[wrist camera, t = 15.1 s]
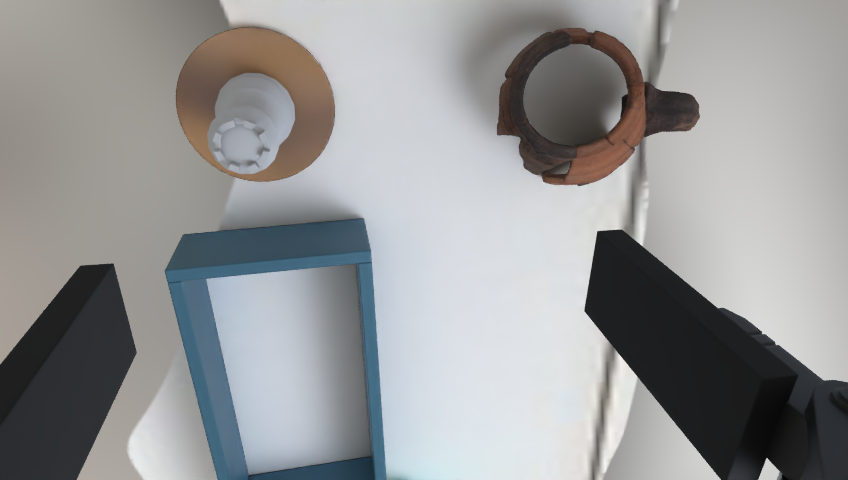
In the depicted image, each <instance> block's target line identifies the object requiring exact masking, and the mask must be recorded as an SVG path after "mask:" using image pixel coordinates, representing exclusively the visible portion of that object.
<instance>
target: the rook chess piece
mask: <svg viewBox="0 0 848 480" xmlns="http://www.w3.org/2000/svg"><path fill="white" fill-rule="evenodd" d="M215 116H216V118H215V119H214V120H213V121H212V122H211V125H210V128H209V131H208V134H207V137H208V146H209V149H210V151H211V153H212V155H213V156H214V158H215V160H216V161H217V162H218V163H220V164H221V165H222V166H223V167H224V168H226V169H227V170H230V171H233V172H236V173H239V174H254V173H257V172H259V171H262V170H264V169H266V168H267V167H268V166H269V165H270V164H271V163H272V162H273V161H274V160H275V157H276V155H277V152H278V149H279V145H280V144H281V143H282V142H283V141H284V140H285V139H286V138H287V137H288V136H289V134H290V132H291V129H292V127H293V124H294V121H295V109H294V103H293V101H292V99H291V97H290V95H289V93H288V91H287V90H286V89H285V88H284V87H283V86H282V85H281V84H280V83H279V82H278V81H277V80H275V79H273V78H271V77H268V76H266V75H264V74H261V73H244V74H241V75H239V76H236V77H234V78H231V79H230V80H229V81H228V82H227V83H226V84H225V85H224V86H223V87H222V88H221V89H220V92H219V95H218V98H217V101H216V104H215Z"/></svg>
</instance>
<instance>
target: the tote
mask: <svg viewBox="0 0 848 480" xmlns="http://www.w3.org/2000/svg"><path fill="white" fill-rule="evenodd" d="M371 261H372V259H371V249H370V244H369V240H368V235H367V231H366V226H365V222H364V219H352V220H341V221H330V222H318V223H307V224H296V225H284V226H273V227H262V228H250V229H239V230H228V231H216V232H205V233H194V234H184V235H183V236H182V238H181V240H180V242H179V244H178V246H177V248H176V250H175V252H174V254H173V256H172V258H171V260H170V262H169V264H168V266H167V268H166V270H165V274H166V278H167V281H168V286H169V290H170V294H171V298H172V301H173V306H174V309H175V313H176V317H177V321H178V325H179V329H180V333H181V337H182V341H183V345H184V349H185V353H186V357H187V361H188V365H189V369H190V373H191V376H192V380H193V384H194V388H195V392H196V396H197V400H198V404H199V408H200V412H201V416H202V420H203V424H204V428H205V432H206V436H207V440H208V443H209V447H210V451H211V455H212V459H213V463H214V467H215V471H216V475H217V479H218V480H386V468H385V453H384V438H383V423H382V408H381V393H380V378H379V363H378V348H377V334H376V319H375V304H374V289H373V274H372V262H371ZM346 264H356V274H357V287H358V299H359V311H360V323H361V336H362V348H363V360H364V373H365V385H366V397H367V409H368V422H369V434H370V446H371V457H366V458H360V459H354V460H347V461H341V462H334V463H328V464H322V465H315V466H309V467H303V468H296V469H290V470H283V471H277V472H271V473H264V474H258V475H252V476H249V475H248V470H247V466H246V461H245V457H244V452H243V448H242V443H241V438H240V434H239V429H238V425H237V420H236V416H235V411H234V406H233V402H232V397H231V393H230V388H229V384H228V379H227V374H226V370H225V365H224V361H223V356H222V352H221V347H220V342H219V338H218V333H217V329H216V324H215V319H214V315H213V310H212V306H211V301H210V297H209V292H208V287H207V283H206V279H207V278H217V277H227V276H237V275H247V274H257V273H267V272H277V271H287V270H296V269H306V268H316V267H326V266H336V265H346Z"/></svg>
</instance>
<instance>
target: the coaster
mask: <svg viewBox="0 0 848 480" xmlns="http://www.w3.org/2000/svg"><path fill="white" fill-rule="evenodd" d="M244 73H261V74H264V75H266V76H268V77H271V78H273V79H275V80H277V81H278V82H279V83H280V84H281V85H282V86H283V87H284V88H285V89H286V90H287V91H288V93H289V95H290V97H291V99H292V101H293V103H294V109H295V121H294V124H293V127H292V129H291V132H290V134H289V136H288V137H287V138H286V139H285V140H284V141H283V142H282V143H281V144H280V145H279V149H278V152H277V155H276V157H275V160H274V161H273V162H272V163H271V164H270V165H269V166H268V167H267V168H266V169H264V170H262V171H259V172H257V173H254V174H239V173H236V172H233V171H230V170H227V169H226V168H224V167H223V166H222V165H221V164H220V163H218V162H217V161H216V160H215V158H214V156H213V155H212V153H211V151H210V149H209V146H208V137H207V134H208V131H209V128H210V125H211V122H212V121H213V120H214V119H215V118H216V116H215V104H216V101H217V98H218V95H219V92H220V89H221V88H222V87H223V86H224V85H225V84H226V83H227V82H228V81H229V80H230V79H231V78H234V77H236V76H239V75H241V74H244ZM176 107H177V114H178V117H179V121H180V124H181V126H182V129H183V131H184V133H185V135H186V137H187V139H188V140H189V142H190V143H191V145H192V146H193V147H194V149H195V150H196V151H197V152H198V153H199V154H200V155H201V156H202V157H203V158H204V159H205V160H206V161H207V162H209V163H210V164H211V165H213V166H214V167H216V168H217V169H219V170H220V171H222V172H224V173H227V174H229V175H231V176H234V177H237V178H240V179H244V180H249V181H275V180H280V179H284V178H287V177H290V176H292V175H295V174H297V173H299V172H300V171H302V170H304V169H305V168H306V167H308V166H309V165H310V164H312V163H313V162H314V161H315V160H316V159H317V158H318V156H319V155H320V154H321V153H322V151H323V150H324V148H325V146H326V145H327V143H328V141H329V138H330V136H331V133H332V129H333V125H334V117H335V105H334V98H333V93H332V90H331V86H330V83H329V81H328V79H327V76H326V74H325V73H324V71H323V69H322V67H321V66H320V65H319V63H318V62H317V61H316V59H315V58H314V57H313V56H312V55H311V54H310V53H309V52H308V51H307V50H306V49H305V48H304V47H302V46H301V45H300V44H299V43H297V42H295V41H294V40H292V39H291V38H289V37H287V36H285V35H282V34H280V33H278V32H274V31H271V30H268V29H262V28H250V27H245V28H235V29H231V30H227V31H224V32H222V33H219V34H217V35H215V36H213V37H211V38H209V39H208V40H206V41H205V42H203V43H202V44H201V45H200V46H198V47H197V48H196V49H195V50H194V52H193V53H192V54H191V55H190V56H189V58H188V59H187V61H186V62H185V64H184V66H183V68H182V70H181V72H180V76H179V79H178V83H177V89H176Z"/></svg>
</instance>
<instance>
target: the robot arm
mask: <svg viewBox="0 0 848 480" xmlns="http://www.w3.org/2000/svg"><path fill="white" fill-rule="evenodd" d="M584 311H585V312H586V314H587V315H588V316H589V317H590V319H591V320H592V321H593V322H594V324H595V325H596V326H597V327H598V328H599V330H600V331H601V332H602V333H603V335H604V336H605V337H606V338H607V340H608V341H609V342H610V343H611V344H612V346H613V347H614V348H615V349H616V351H617V352H618V353H619V354H620V356H621V357H622V358H623V359H624V361H625V362H626V363H627V364H628V365H629V367H630V368H631V369H632V370H633V372H634V373H635V374H636V375H637V377H638V378H639V379H640V380H641V382H642V383H643V384H644V385H645V386H646V388H647V389H648V390H649V391H650V393H652V395H653V396H654V397H655V399H656V400H657V401H658V402H659V404H660V405H661V406H662V407H663V408H664V410H665V411H666V412H667V414H668V415H669V416H670V417H671V418H672V420H673V421H674V422H675V423H676V425H677V426H678V427H679V428H680V430H681V431H682V432H683V433H684V434H685V436H686V437H687V438H688V439H689V441H690V442H691V443H692V444H693V446H694V447H695V448H696V449H697V451H698V452H699V453H700V454H701V456H702V457H703V458H704V459H705V460H706V462H707V463H708V464H709V465H710V466H711V468H712V469H713V470H714V472H715V473H716V474H717V475H718V476H719V477H720V479H721V480H758V479H759V476H760V473H761V471H762V468H763V466H764V463H765V460H766V458H768V459H769V460H770V461H771V463H772V464H773V465H774V466H775V467H776V468H777V469H778V470H779V471H780V473H779V476H778V478H777V480H848V382H842V381H837V380H829V381H828V380H827V381H824V380H822V379H821V378H820V377H818V376H817V375H816V374H815V373H813V372H812V371H811V370H809V369H808V368H807V367H806V366H805V365H803V364H802V363H801V362H799V361H798V360H797V359H796V358H794V357H793V356H792V355H791V354H789V353H788V352H787V351H786V350H784V349H783V348H782V347H781V346H779V345H775V342H774V341H773V340H772V339H770V338H769V337H768V336H767V335H765V334H762V331H760V330H759V329H758V328H756V327H755V326H754V325H753V324H751V323H750V322H749V321H748V320H746V319H745V318H743V317H741V316H739V315H737V314H735V313H733V312H731V311H729V310H727V309H725V308H717V307H716V306H714V305H713V304H712V303H711V302H709V301H708V300H707V299H706V298H705V297H703V296H702V295H701V294H700V293H699V292H697V291H696V290H695V289H694V288H692V287H691V286H690V285H689V284H688V283H686V282H685V281H684V280H683V279H681V278H680V277H679V276H678V275H677V274H675V273H674V272H673V271H672V270H670V269H669V268H668V267H667V266H666V265H664V264H663V263H662V262H661V261H659V260H658V259H657V258H656V257H654V256H653V255H652V254H651V253H649V252H648V251H647V250H646V249H645V248H644V247H642V246H641V245H640V244H639V243H637V242H636V241H635V240H634V239H633V238H631V237H630V236H629V235H628V234H627V233H625V232H624V231H623V230H608V231H597V237H596V243H595V250H594V256H593V262H592V268H591V274H590V280H589V286H588V292H587V298H586V304H585V310H584ZM135 355H136V348H135V344H134V340H133V337H132V333H131V329H130V325H129V321H128V317H127V314H126V310H125V306H124V302H123V298H122V294H121V291H120V287H119V283H118V279H117V275H116V272H115V268H114V264H99V265H85V266H80V267H79V268H78V269H77V271H76V272H75V273H74V274H73V276H72V277H71V278H70V279H69V281H68V282H67V283H66V284H65V285H64V287H63V288H62V289H61V290H60V292H59V293H58V294H57V295H56V297H55V298H54V299H53V300H52V301H51V303H50V304H49V305H48V307H47V308H46V309H45V310H44V311H43V313H42V314H41V315H40V316H39V318H38V319H37V320H36V321H35V323H34V324H33V325H32V326H31V327H30V329H29V330H28V331H27V332H26V334H25V335H24V336H23V337H22V338H21V340H20V341H19V342H18V344H17V345H16V346H15V347H14V348H13V350H12V351H11V352H10V353H9V355H8V356H7V357H6V358H5V360H4V361H3V362H2V363H1V364H0V480H77V477H78V475H79V473H80V471H81V469H82V467H83V465H84V463H85V461H86V459H87V456H88V454H89V452H90V450H91V448H92V446H93V444H94V442H95V440H96V437H97V435H98V433H99V431H100V429H101V427H102V425H103V423H104V421H105V418H106V416H107V414H108V412H109V410H110V408H111V406H112V403H113V401H114V399H115V397H116V395H117V393H118V391H119V389H120V387H121V385H122V382H123V380H124V378H125V376H126V374H127V372H128V370H129V368H130V366H131V363H132V361H133V359H134V357H135Z"/></svg>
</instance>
